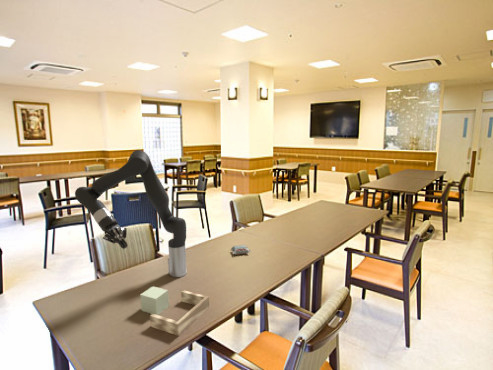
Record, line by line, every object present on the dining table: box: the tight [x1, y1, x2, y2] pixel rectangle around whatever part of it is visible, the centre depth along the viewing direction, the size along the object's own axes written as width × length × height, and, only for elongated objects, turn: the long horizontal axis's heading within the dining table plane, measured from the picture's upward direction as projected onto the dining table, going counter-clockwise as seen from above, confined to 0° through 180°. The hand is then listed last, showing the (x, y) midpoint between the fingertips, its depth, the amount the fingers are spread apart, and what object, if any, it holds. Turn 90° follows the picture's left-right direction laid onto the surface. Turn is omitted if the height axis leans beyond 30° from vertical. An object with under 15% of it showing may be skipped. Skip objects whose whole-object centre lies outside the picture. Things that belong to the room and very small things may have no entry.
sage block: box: [139, 286, 170, 315], centre depth 134 cm, size 9×8×8 cm
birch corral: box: [149, 289, 210, 337], centre depth 128 cm, size 14×22×5 cm, turn 155°
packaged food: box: [230, 244, 251, 255], centre depth 196 cm, size 9×12×5 cm
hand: (125, 247), depth 138 cm, fingers closed
